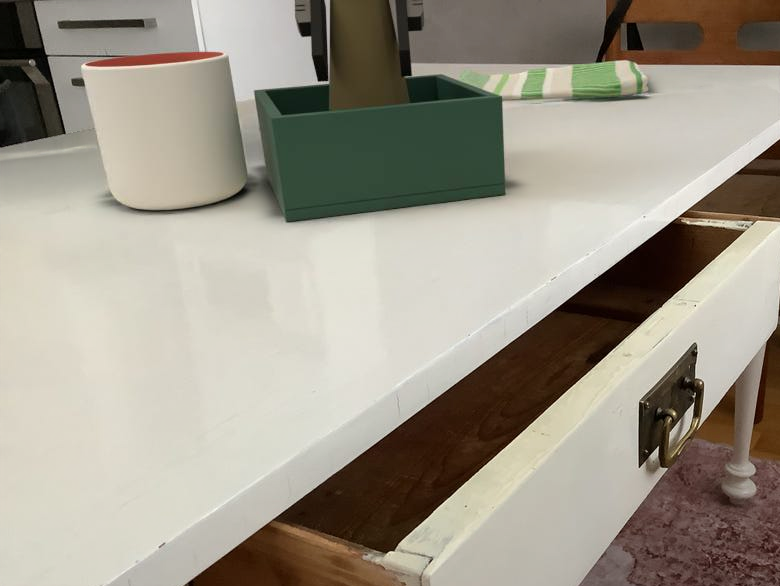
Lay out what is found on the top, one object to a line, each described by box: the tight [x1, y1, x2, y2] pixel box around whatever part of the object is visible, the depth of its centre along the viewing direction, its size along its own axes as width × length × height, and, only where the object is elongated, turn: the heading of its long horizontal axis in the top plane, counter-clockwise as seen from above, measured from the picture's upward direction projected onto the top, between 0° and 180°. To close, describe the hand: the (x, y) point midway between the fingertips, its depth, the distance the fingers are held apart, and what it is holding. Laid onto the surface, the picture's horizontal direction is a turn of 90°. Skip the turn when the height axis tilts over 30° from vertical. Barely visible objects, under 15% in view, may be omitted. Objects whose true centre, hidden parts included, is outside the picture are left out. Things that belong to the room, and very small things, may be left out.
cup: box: [80, 51, 248, 211], centre depth 62 cm, size 10×10×10 cm
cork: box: [328, 0, 410, 111], centre depth 61 cm, size 6×6×11 cm
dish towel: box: [458, 59, 650, 101], centre depth 105 cm, size 18×23×3 cm
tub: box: [253, 73, 506, 223], centre depth 64 cm, size 16×16×7 cm
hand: (363, 65), depth 58 cm, fingers closed on cork, 5 cm apart
